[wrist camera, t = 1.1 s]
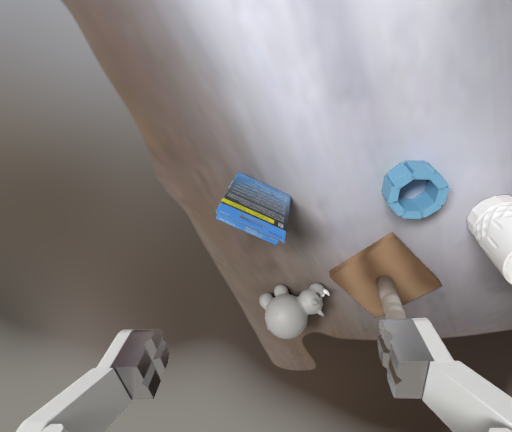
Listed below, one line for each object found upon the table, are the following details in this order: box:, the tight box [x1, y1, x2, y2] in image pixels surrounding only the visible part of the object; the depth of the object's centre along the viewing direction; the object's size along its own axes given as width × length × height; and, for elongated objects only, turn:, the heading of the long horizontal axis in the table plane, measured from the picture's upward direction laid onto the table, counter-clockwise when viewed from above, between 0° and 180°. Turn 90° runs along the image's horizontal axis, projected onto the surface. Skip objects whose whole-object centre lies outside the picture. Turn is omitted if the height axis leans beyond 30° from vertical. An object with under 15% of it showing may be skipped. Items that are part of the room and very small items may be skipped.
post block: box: [329, 232, 442, 319], centre depth 42 cm, size 12×12×10 cm
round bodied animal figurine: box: [259, 283, 330, 339], centre depth 48 cm, size 7×12×8 cm, turn 115°
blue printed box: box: [215, 172, 291, 245], centre depth 37 cm, size 9×4×12 cm, turn 67°
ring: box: [382, 161, 449, 219], centre depth 36 cm, size 7×7×4 cm
